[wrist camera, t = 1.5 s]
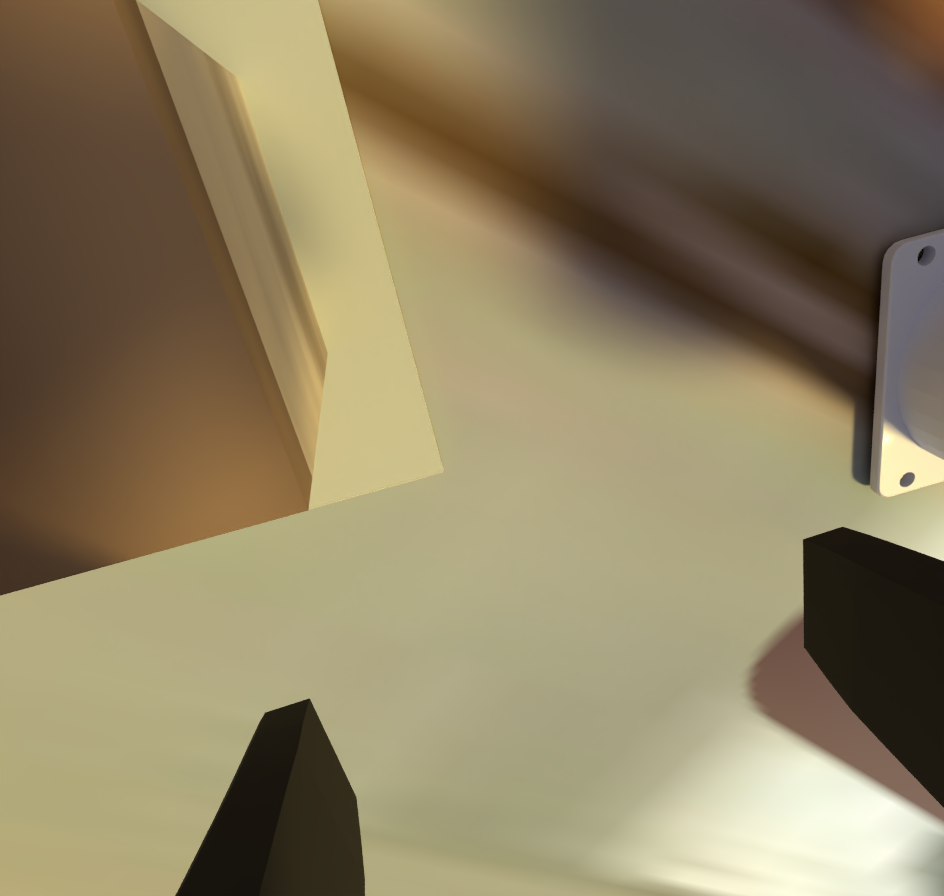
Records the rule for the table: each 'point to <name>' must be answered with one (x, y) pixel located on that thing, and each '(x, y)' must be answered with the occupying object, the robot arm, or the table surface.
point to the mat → (325, 238)
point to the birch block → (140, 299)
